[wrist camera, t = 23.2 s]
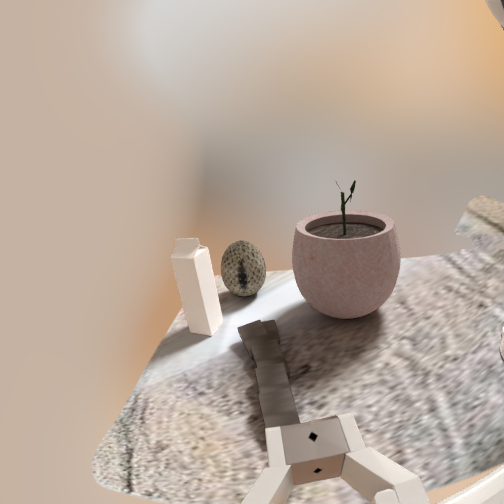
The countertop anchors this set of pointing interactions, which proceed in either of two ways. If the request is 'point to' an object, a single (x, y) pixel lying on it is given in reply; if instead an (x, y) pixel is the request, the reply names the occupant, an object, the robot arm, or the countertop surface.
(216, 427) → the countertop surface
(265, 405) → the domino
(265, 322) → the domino
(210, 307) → the milk
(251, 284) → the decorative egg
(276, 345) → the domino
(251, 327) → the domino
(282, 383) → the domino
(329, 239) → the plant pot
